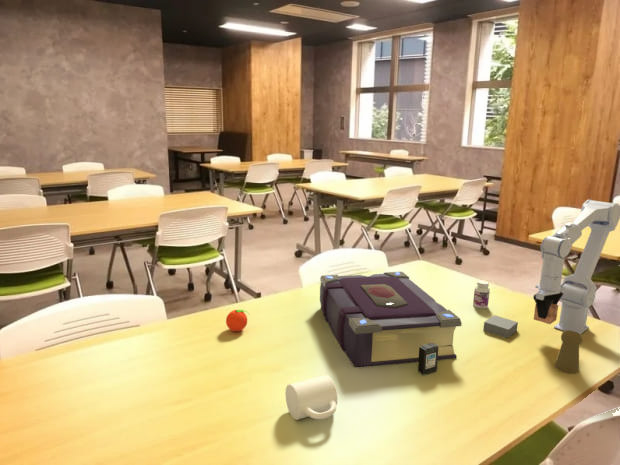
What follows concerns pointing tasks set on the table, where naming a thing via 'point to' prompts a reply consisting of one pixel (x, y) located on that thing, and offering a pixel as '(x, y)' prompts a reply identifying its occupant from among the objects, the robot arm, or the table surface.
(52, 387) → the table surface
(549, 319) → the terracotta cube
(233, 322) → the clementine
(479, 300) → the pill bottle
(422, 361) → the ink cartridge
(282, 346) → the table surface
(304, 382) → the mug
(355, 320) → the book
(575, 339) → the cork
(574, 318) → the robot arm
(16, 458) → the table surface
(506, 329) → the gray block
